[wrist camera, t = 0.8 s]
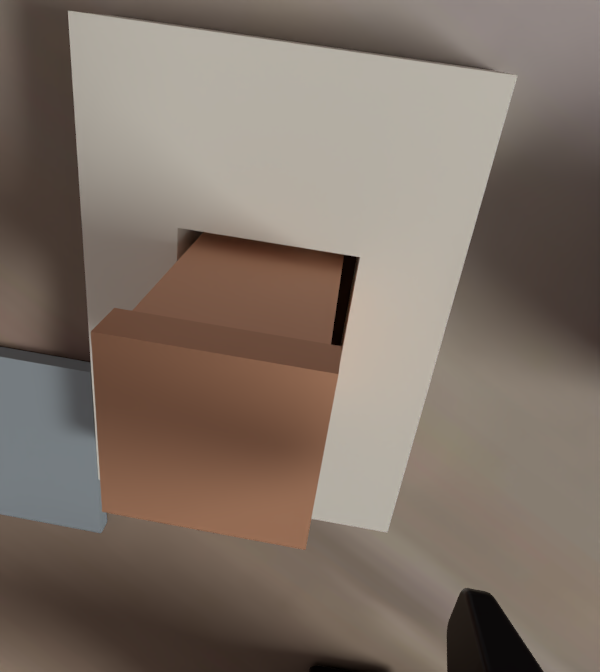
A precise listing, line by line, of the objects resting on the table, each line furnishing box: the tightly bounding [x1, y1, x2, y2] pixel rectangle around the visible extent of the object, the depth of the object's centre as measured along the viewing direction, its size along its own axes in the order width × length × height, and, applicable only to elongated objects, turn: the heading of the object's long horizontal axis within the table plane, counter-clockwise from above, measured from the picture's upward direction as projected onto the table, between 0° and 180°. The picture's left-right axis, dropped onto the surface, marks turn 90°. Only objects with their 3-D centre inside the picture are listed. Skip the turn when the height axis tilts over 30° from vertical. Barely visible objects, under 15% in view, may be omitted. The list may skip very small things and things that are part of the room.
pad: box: [0, 347, 107, 533], centre depth 22 cm, size 8×8×1 cm
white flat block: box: [68, 11, 517, 532], centre depth 17 cm, size 14×10×2 cm
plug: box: [91, 232, 344, 550], centre depth 14 cm, size 4×4×8 cm
